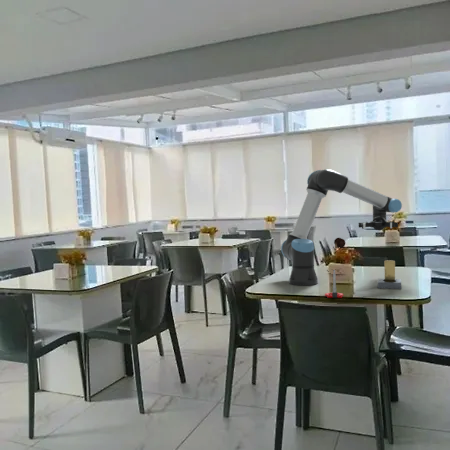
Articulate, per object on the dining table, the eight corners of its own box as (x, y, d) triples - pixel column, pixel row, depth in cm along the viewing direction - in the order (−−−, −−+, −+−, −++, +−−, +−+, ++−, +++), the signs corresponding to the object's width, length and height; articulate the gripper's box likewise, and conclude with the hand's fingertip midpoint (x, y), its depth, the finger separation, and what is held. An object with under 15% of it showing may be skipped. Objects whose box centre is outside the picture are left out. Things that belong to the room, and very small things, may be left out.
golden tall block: (384, 287, 240) (384, 261, 240) (384, 285, 245) (384, 260, 244) (395, 287, 239) (394, 261, 238) (395, 285, 243) (394, 260, 243)
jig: (377, 288, 239) (377, 282, 239) (378, 284, 248) (378, 278, 248) (401, 288, 235) (401, 282, 235) (401, 285, 245) (401, 279, 245)
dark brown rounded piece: (326, 268, 307) (325, 237, 305) (349, 268, 306) (349, 236, 305) (330, 272, 292) (329, 239, 291) (354, 271, 291) (354, 238, 290)
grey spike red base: (324, 295, 229) (325, 298, 220) (323, 267, 229) (325, 270, 220) (342, 295, 228) (344, 298, 219) (342, 267, 228) (343, 270, 218)
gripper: (402, 229, 268) (402, 232, 248) (356, 230, 277) (353, 233, 257) (402, 216, 268) (402, 218, 248) (356, 217, 276) (352, 219, 256)
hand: (377, 225), depth 252 cm, fingers open, 13 cm apart
